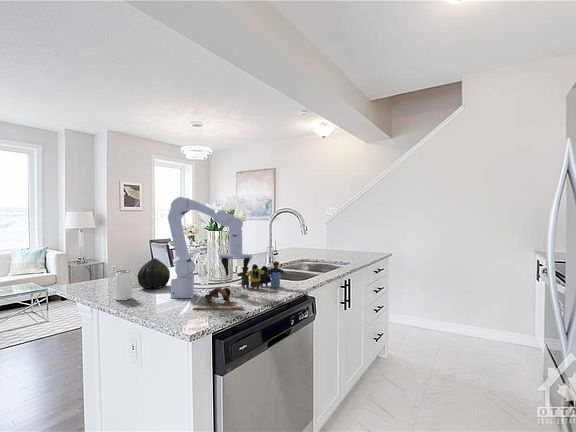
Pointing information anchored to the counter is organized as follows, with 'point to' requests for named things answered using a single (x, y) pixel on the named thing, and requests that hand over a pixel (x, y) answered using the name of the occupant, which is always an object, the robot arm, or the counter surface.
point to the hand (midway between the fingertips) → (235, 275)
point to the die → (235, 290)
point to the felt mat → (243, 294)
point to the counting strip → (218, 308)
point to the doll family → (264, 277)
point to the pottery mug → (214, 293)
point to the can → (123, 285)
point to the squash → (153, 274)
